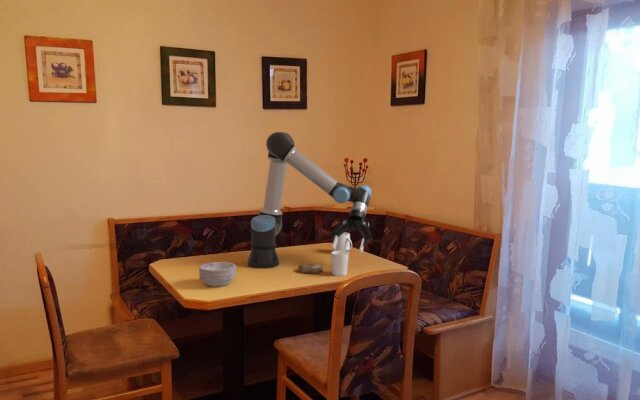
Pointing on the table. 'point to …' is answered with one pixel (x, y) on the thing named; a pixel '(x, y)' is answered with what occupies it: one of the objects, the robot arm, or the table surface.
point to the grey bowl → (217, 273)
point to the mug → (344, 243)
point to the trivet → (310, 268)
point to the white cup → (339, 262)
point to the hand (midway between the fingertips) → (346, 250)
